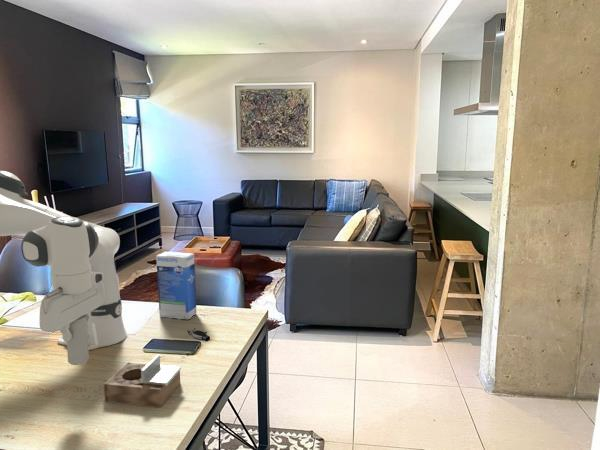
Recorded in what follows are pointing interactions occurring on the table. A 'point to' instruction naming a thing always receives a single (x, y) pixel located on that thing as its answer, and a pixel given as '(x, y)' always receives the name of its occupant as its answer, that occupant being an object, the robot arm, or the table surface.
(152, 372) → the panel
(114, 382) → the socket block
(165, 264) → the string lights box
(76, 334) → the beverage can
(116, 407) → the table surface
